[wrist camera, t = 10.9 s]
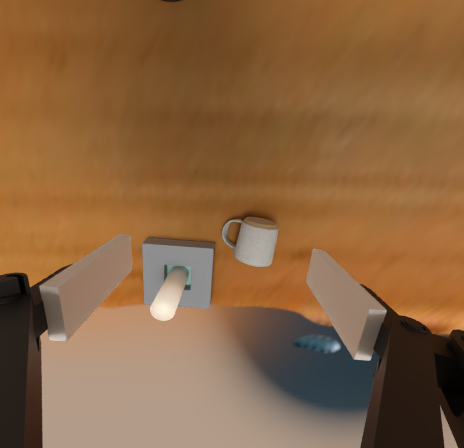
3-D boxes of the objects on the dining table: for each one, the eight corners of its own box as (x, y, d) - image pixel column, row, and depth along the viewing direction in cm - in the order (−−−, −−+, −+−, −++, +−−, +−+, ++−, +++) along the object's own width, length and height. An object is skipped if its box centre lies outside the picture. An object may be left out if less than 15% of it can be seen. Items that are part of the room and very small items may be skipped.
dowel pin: (170, 264, 45) (149, 298, 34) (189, 265, 45) (175, 300, 34) (170, 280, 46) (150, 319, 35) (188, 282, 47) (175, 321, 35)
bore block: (148, 237, 45) (142, 243, 42) (214, 242, 46) (213, 248, 42) (150, 294, 49) (144, 304, 46) (211, 298, 50) (209, 308, 46)
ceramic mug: (276, 218, 44) (284, 229, 37) (268, 254, 47) (274, 271, 39) (226, 210, 44) (224, 219, 37) (220, 246, 46) (217, 262, 39)
